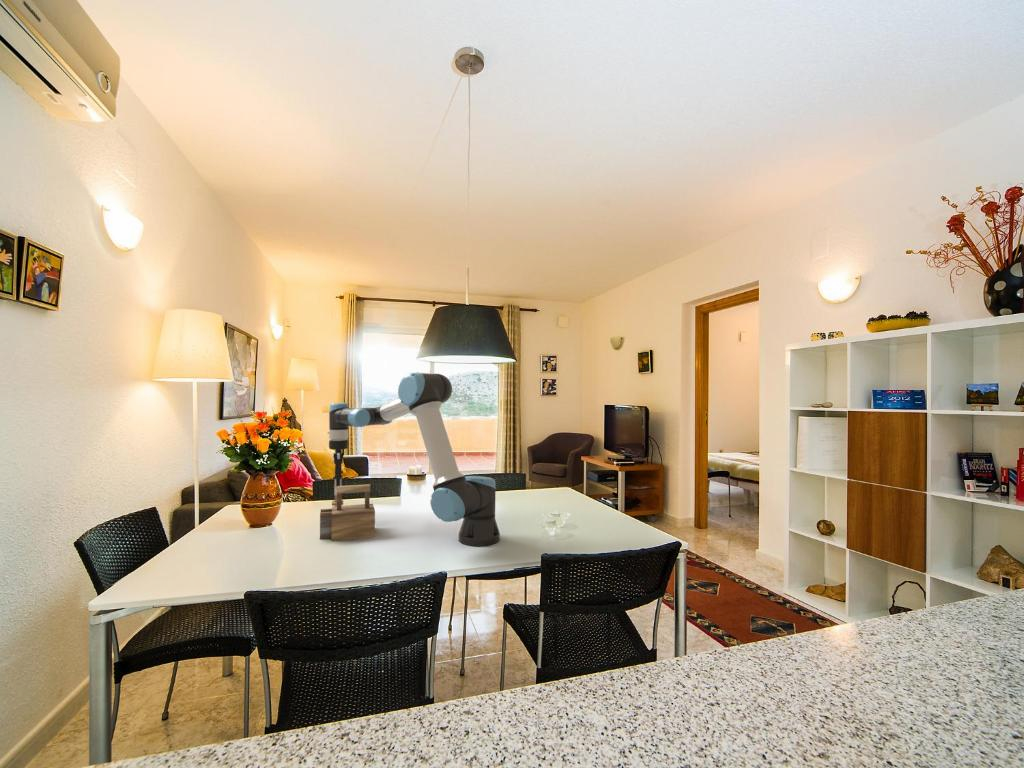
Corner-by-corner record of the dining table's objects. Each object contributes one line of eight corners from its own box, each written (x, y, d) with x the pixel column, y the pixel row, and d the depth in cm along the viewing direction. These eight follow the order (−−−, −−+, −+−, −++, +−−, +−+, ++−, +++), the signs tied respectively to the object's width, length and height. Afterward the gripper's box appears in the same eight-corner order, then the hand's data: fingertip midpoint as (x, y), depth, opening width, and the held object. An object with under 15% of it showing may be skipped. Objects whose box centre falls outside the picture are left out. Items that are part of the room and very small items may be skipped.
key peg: (343, 520, 195) (343, 480, 195) (331, 521, 193) (332, 481, 194) (342, 517, 199) (343, 478, 199) (331, 518, 198) (332, 479, 198)
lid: (374, 515, 174) (375, 487, 174) (319, 519, 167) (320, 491, 167) (372, 507, 185) (373, 481, 185) (320, 511, 178) (321, 484, 178)
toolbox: (374, 536, 174) (374, 515, 174) (319, 542, 167) (319, 519, 167) (372, 527, 185) (372, 507, 185) (320, 532, 178) (320, 511, 178)
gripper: (329, 437, 206) (328, 486, 206) (328, 442, 184) (327, 498, 184) (347, 436, 209) (346, 485, 209) (348, 442, 187) (347, 497, 187)
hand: (337, 491), depth 196 cm, fingers open, 11 cm apart
